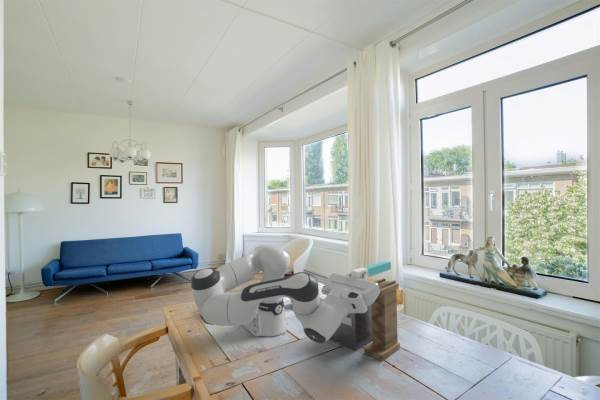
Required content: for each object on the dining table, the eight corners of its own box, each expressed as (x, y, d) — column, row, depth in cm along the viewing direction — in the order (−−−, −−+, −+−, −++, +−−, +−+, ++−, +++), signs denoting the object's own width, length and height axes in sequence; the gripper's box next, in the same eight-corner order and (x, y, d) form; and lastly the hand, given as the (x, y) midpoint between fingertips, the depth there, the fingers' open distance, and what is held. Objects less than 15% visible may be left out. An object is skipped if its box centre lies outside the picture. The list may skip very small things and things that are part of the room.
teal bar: (351, 279, 100) (351, 270, 100) (384, 268, 115) (384, 260, 115) (358, 280, 98) (358, 272, 98) (390, 269, 113) (390, 261, 113)
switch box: (328, 339, 121) (327, 302, 121) (347, 329, 130) (347, 294, 130) (355, 351, 110) (354, 311, 110) (374, 339, 119) (373, 302, 119)
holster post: (364, 352, 109) (362, 284, 109) (382, 341, 118) (380, 277, 118) (382, 361, 103) (380, 288, 104) (400, 348, 112) (398, 281, 112)
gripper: (322, 298, 103) (342, 273, 111) (369, 314, 88) (389, 284, 96) (315, 285, 101) (336, 261, 109) (363, 299, 85) (384, 270, 94)
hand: (361, 272), depth 102 cm, fingers closed on teal bar, 3 cm apart
